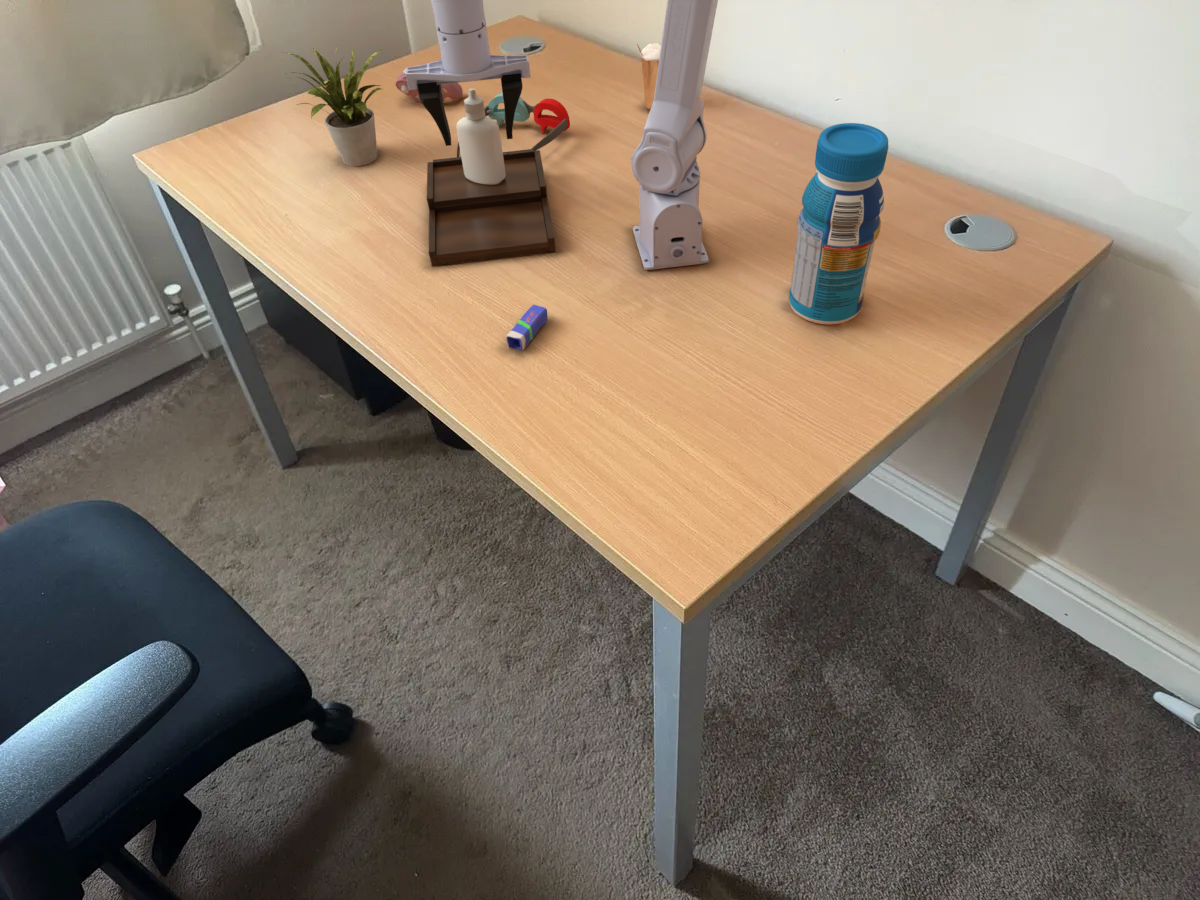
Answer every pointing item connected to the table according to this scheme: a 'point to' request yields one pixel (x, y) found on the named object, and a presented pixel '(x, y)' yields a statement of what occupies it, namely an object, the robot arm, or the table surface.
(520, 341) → the eraser
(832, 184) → the beverage bottle
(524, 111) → the novelty glasses
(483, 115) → the eye dropper bottle
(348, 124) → the house plant
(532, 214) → the step shelf
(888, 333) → the table surface
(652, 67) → the frothy drink cup
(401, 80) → the video game controller
